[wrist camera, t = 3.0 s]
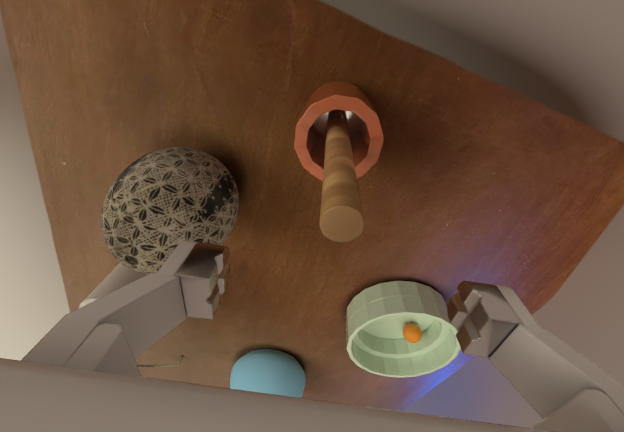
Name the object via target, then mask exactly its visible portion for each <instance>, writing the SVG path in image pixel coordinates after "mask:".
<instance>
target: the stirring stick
mask: <svg viewBox="0 0 624 432" xmlns="http://www.w3.org/2000/svg"><path fill="white" fill-rule="evenodd" d="M363 228H364V218H363V212H362V206H361V200H360V194H359V188H358V182H357V176H356V170H355V164H354V158H353V152H352V146H351V140H350V134H349V128H348V122H347V116H346V113H345V112H344V111H343V110H337V109H335V110H332V111H330V112H329V114H328V119H327V133H326V146H325V159H324V172H323V185H322V198H321V211H320V229H321V231H322V233H323V234H324V235H325V236H326V237H327V238H328V239H330V240H332V241H335V242H348V241H351V240H353V239H355V238H357V237H358V236H359V235H360V234H361V232H362V231H363Z"/></svg>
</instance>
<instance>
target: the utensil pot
mask: <svg viewBox="0 0 624 432" xmlns="http://www.w3.org/2000/svg"><path fill="white" fill-rule="evenodd" d="M335 109H337V110H343V111H344V112H345V113H346V116H347V122H348V128H349V134H350V140H351V146H352V152H353V158H354V164H355V170H356V176H357V178H359V177H361V176H363V175H364V174H365V173H366V172H367V171H368V170H369V169H370V168H371V167H372V166H373V165H374V164H375V163H376V162H377V161H378V158H379V155H380V151H381V148H382V144H383V141H384V136H383V132H382V128H381V125H380V121H379V117H378V115H377V113H376V112H375V110H374V108H373V106H372V105H371V103H370V101H369V100H368V98H367V96H366V95H365V94H364V93H363V92H362V91H361V90H360V89H359V88H358V87H356V86H355V85H354V84H352V83H348V82H345V81H332V82H329V83H326V84H324V85H322V86H320V87H318V88H317V89H316V90H315V91H314V92H313V94H312V95H311V96H310V98H309V99H308V101H307V102H306V104H305V106H304V109H303V111H302V113H301V115H300V118H299V120H298V122H297V125H296V133H295V142H294V148H295V151H296V153H297V155H298V157H299V160H300V162H301V164H302V166H303V168H304V169H306V170H307V171H309V172H310V173H311V174H313V175H314V176H315V177H317V178H318V179H319V180H322V181H323V172H324V159H325V146H326V133H327V119H328V114H329V112H330V111H332V110H335Z"/></svg>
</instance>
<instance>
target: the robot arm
mask: <svg viewBox="0 0 624 432" xmlns="http://www.w3.org/2000/svg"><path fill="white" fill-rule="evenodd" d="M228 258H229V248H228V247H226V246H220V245H214V244H208V243H202V242H194V241H188V240H183V241H181V242H180V243H179V244H178V245H177V247H176V248H175V249H174V251H173V252H172V253H171V255H170V256H169V257H168V259H167V260H166V261H165V263H164V264H163V265H162V266H161V268H160V269H159V270H158V272H157V273H150V274H148V275H146V276H144V277H142V278H140V279H138V280H136V281H134V282H132V283H130V284H128V285H126V286H124V287H122V288H120V289H118V290H116V291H114V292H112V293H109V294H107V295H105V296H103V297H101V298H99V299H97V300H95V301H93V302H91V303H89V304H87V305H85V306H83V307H81V308H79V309H77V310H75V311H73V312H71V313H69V314H67V315H65V316H64V317H63V318H62V319H61V320H60V321H59V322H58V323H57V324H56V325H55V326H54V327H53V328H52V329H51V330H50V331H49V332H48V333H47V334H46V335H45V337H43V338H42V339H41V340H40V342H38V344H37V345H36V346H35V347H34V348H33V349H32V350H31V351H30V352H29V353H28V354H27V355H26V356H25V357H24V358H23V359H22V360H21V361H18V360H11V359H2V358H0V432H624V385H623V384H622V383H621V382H620V381H618V380H617V379H615V378H614V377H612V376H611V375H610V374H608V373H607V372H606V371H604V370H603V369H601V368H600V367H599V366H597V365H596V364H594V363H593V362H592V361H590V360H589V359H587V358H586V357H585V356H583V355H582V354H581V353H579V352H578V351H576V350H575V349H574V348H572V347H571V346H569V345H568V344H567V343H565V342H564V341H562V340H561V339H560V338H558V337H557V336H556V335H554V334H553V333H551V332H550V331H548V330H547V329H546V328H542V327H540V326H539V325H538V323H537V322H536V321H535V319H534V318H533V317H532V315H531V314H530V312H529V311H528V310H527V308H526V307H525V306H524V304H523V303H522V302H521V300H520V299H519V297H518V296H517V295H516V293H515V292H514V291H513V289H511V288H510V287H508V286H502V285H494V284H493V285H491V284H485V283H478V282H470V281H463V282H461V283H460V284H459V286H458V287H457V290H458V294H456V295H454V296H452V297H451V299H450V301H449V302H448V307H447V313H448V318H449V321H450V323H451V324H452V325H453V326H454V327H455V328H456V329H457V333H456V337H457V340H458V342H459V345H460V347H461V349H462V352H463V354H467V355H474V356H480V357H486V358H489V360H490V361H491V363H492V364H493V365H494V366H495V367H496V368H497V369H498V370H499V371H500V372H501V374H502V375H503V376H504V377H505V378H506V379H507V380H508V381H509V382H510V383H511V384H512V386H513V387H514V388H515V389H516V390H517V391H518V392H519V393H520V394H521V395H522V396H523V398H524V399H525V400H526V401H527V402H528V403H529V404H530V405H531V406H532V407H533V409H534V410H535V411H536V412H537V413H538V414H539V415H540V416H541V417H542V418H543V419H542V420H541V421H539V422H538V423H536V424H535V425H534V426H533V428H524V427H517V426H509V425H502V424H494V423H486V422H479V421H472V420H464V419H456V418H449V417H441V416H434V415H426V414H419V413H411V412H404V411H396V410H389V409H381V408H374V407H366V406H358V405H351V404H343V403H335V402H328V401H320V400H313V399H305V398H297V397H290V396H282V395H275V394H267V393H260V392H252V391H244V390H237V389H229V388H222V387H214V386H207V385H199V384H191V383H184V382H176V381H169V380H161V379H154V378H146V377H141V374H140V371H139V369H138V366H137V364H136V361H135V359H136V358H138V357H139V356H140V355H141V354H143V353H144V352H145V351H146V350H148V349H149V348H150V347H151V346H152V345H154V344H155V343H156V342H157V341H159V340H160V339H161V338H162V337H164V336H165V335H166V334H167V333H168V332H170V331H171V330H172V329H173V328H175V327H176V326H177V325H178V324H180V323H181V322H182V321H183V320H185V319H186V316H187V317H196V318H205V319H213V318H214V315H215V313H216V311H217V308H218V306H219V304H220V295H221V294H222V293H224V292H225V290H226V287H227V284H228V280H229V276H230V265H229V264H228V263H227V260H228Z"/></svg>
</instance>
